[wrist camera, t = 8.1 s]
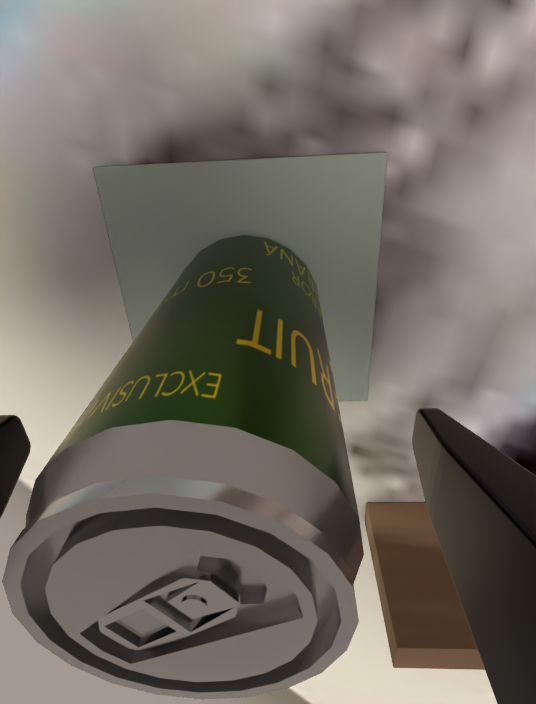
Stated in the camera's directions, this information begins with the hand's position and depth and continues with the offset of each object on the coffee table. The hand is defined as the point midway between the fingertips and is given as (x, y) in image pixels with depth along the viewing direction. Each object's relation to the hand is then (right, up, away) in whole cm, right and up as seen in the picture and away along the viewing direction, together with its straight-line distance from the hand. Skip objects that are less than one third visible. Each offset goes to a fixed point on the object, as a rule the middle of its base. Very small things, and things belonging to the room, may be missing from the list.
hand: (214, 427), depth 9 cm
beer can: (+1, +4, +7) cm, 8 cm away
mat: (0, +4, +7) cm, 8 cm away
